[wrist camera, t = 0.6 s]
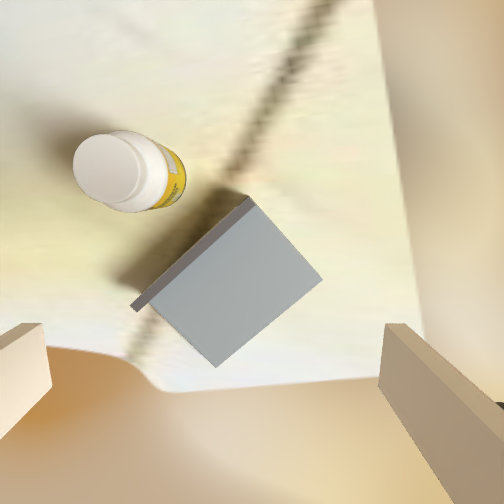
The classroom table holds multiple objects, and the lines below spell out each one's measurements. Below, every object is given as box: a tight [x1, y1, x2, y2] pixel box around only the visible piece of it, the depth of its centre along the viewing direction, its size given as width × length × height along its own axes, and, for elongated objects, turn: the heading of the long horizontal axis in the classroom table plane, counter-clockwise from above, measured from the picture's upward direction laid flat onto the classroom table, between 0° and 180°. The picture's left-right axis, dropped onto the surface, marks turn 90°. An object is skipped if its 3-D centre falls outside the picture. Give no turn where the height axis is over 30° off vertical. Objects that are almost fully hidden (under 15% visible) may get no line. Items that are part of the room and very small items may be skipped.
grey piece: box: [130, 196, 323, 368], centre depth 31 cm, size 12×16×5 cm
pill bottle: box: [73, 130, 186, 213], centre depth 26 cm, size 6×6×12 cm
